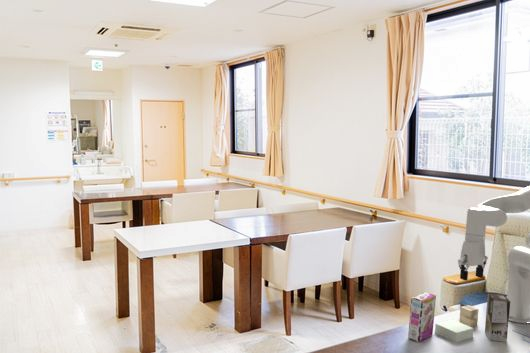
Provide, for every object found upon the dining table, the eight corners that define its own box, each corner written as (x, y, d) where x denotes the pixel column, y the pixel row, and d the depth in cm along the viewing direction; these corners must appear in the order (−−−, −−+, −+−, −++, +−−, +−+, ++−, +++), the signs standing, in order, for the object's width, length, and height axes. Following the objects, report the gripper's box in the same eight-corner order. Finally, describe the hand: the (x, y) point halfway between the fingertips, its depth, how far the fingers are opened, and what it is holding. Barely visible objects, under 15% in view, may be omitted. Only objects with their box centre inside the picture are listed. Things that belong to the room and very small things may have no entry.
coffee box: (507, 342, 191) (511, 301, 189) (489, 340, 192) (493, 299, 191) (501, 333, 200) (504, 294, 198) (484, 331, 201) (487, 292, 200)
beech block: (467, 321, 212) (468, 305, 211) (477, 325, 207) (478, 309, 207) (459, 322, 209) (460, 306, 208) (469, 327, 205) (470, 310, 204)
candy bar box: (419, 343, 187) (422, 301, 186) (407, 338, 191) (410, 297, 189) (433, 335, 195) (436, 294, 194) (421, 331, 199) (424, 291, 197)
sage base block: (451, 328, 203) (452, 319, 203) (472, 338, 195) (473, 328, 194) (434, 333, 198) (435, 323, 198) (455, 342, 190) (456, 332, 189)
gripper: (480, 234, 212) (477, 273, 214) (453, 237, 204) (449, 278, 205) (496, 238, 206) (492, 278, 207) (468, 241, 197) (465, 283, 199)
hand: (471, 278), depth 206 cm, fingers open, 9 cm apart
